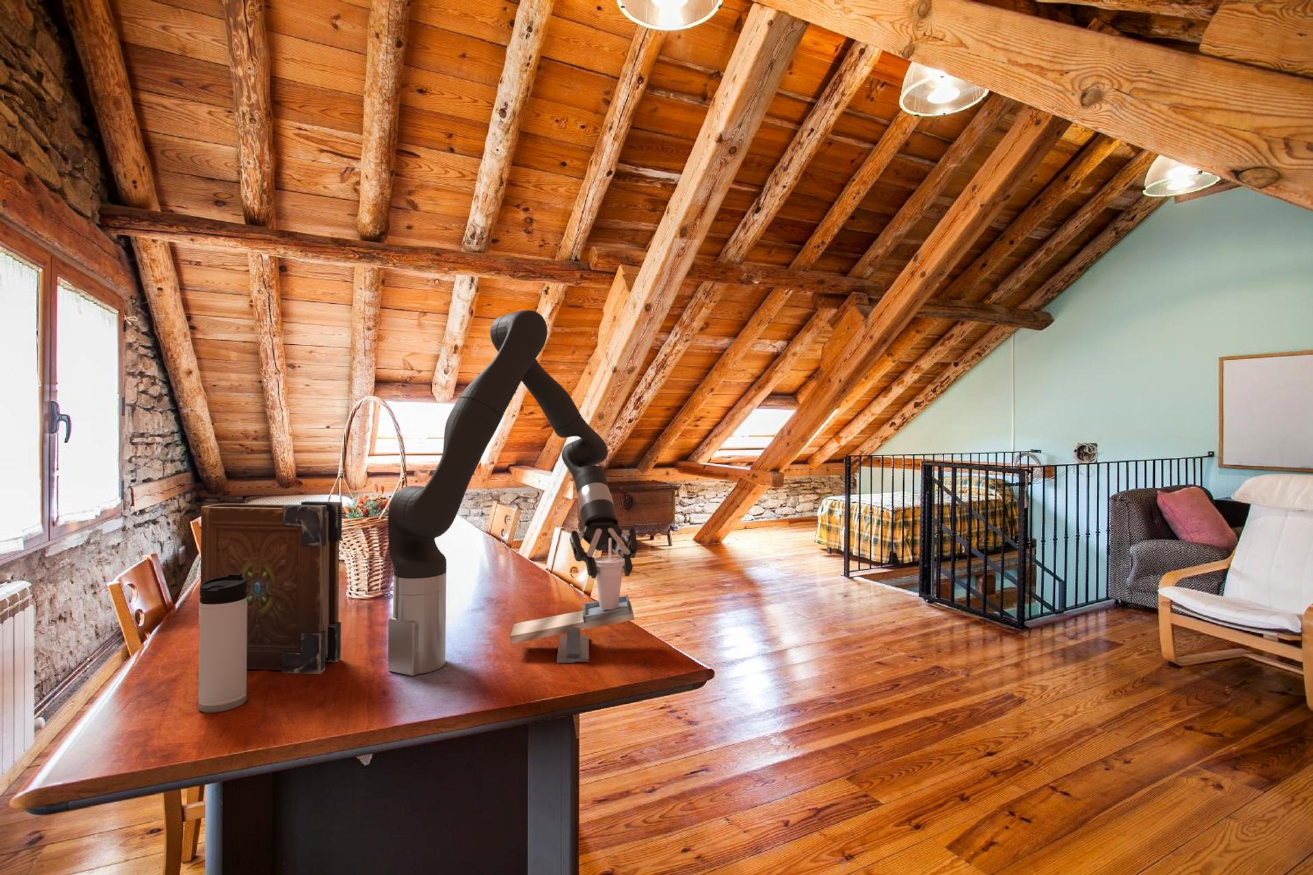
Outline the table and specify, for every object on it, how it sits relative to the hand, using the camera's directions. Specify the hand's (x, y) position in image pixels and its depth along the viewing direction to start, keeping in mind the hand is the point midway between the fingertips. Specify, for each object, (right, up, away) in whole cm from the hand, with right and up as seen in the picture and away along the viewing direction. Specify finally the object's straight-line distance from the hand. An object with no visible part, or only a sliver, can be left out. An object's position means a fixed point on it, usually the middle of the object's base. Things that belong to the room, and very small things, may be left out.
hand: (611, 574), depth 127 cm
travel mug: (-60, -15, -26) cm, 67 cm away
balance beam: (-8, -10, +1) cm, 13 cm away
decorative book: (-63, -15, -9) cm, 65 cm away
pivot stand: (-8, -15, +1) cm, 17 cm away
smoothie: (-1, -7, +2) cm, 7 cm away
